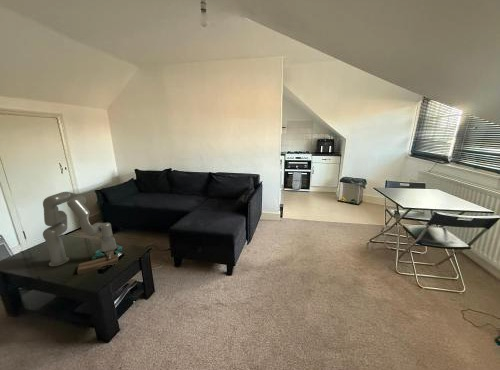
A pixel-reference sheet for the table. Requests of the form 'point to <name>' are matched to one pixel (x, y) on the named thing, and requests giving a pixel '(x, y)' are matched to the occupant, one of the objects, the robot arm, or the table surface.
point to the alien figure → (103, 254)
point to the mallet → (110, 253)
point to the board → (97, 264)
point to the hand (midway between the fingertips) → (110, 256)
